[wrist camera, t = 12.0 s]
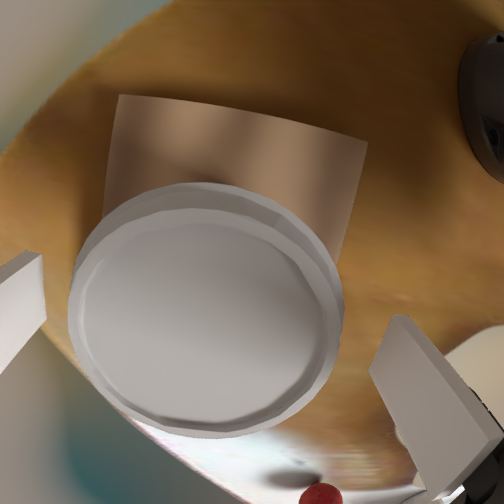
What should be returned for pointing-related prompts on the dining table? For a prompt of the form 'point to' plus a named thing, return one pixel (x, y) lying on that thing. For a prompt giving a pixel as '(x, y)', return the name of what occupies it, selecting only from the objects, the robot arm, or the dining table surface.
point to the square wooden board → (235, 159)
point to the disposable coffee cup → (205, 310)
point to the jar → (422, 499)
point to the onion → (321, 494)
